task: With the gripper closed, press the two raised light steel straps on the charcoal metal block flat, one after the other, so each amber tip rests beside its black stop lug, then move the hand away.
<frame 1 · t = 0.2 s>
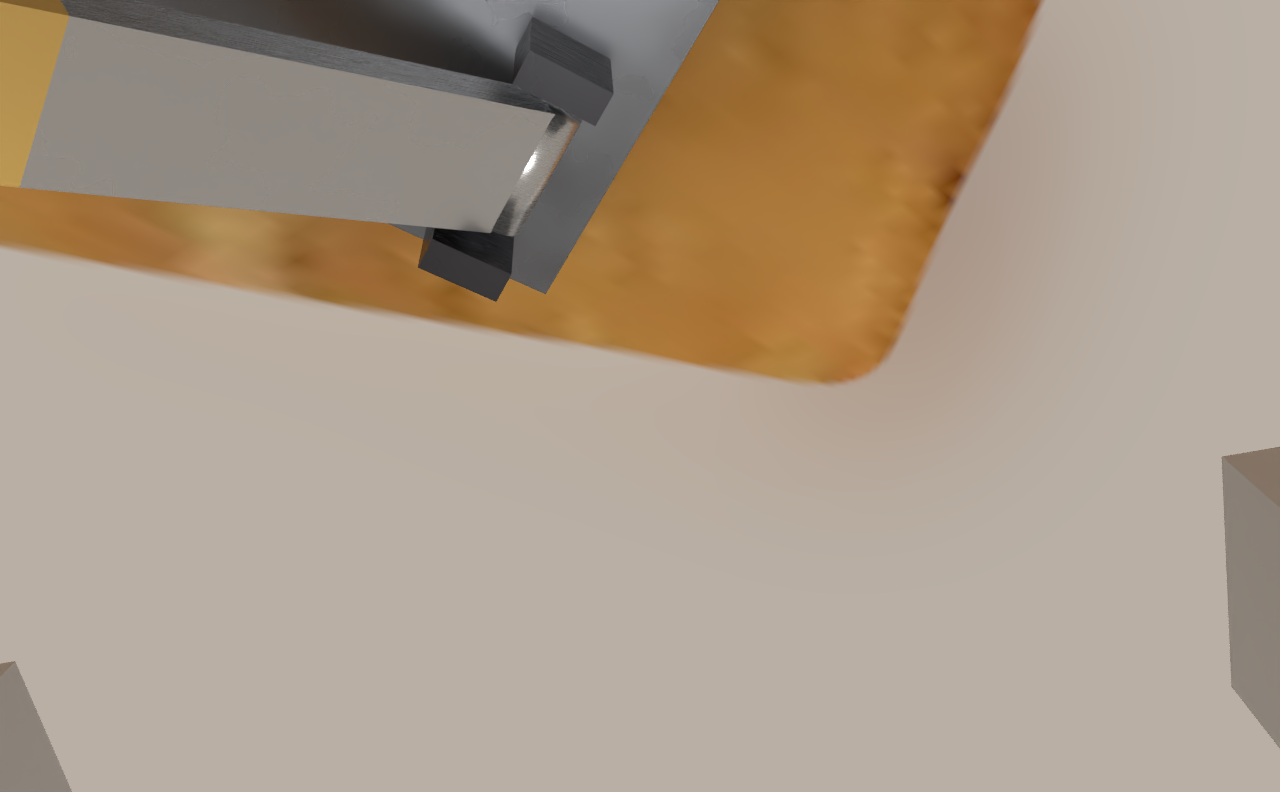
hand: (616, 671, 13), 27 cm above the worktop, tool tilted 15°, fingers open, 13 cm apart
strap 1: (269, 124, 27), point 9 cm above the worktop, hinge at -35.0°
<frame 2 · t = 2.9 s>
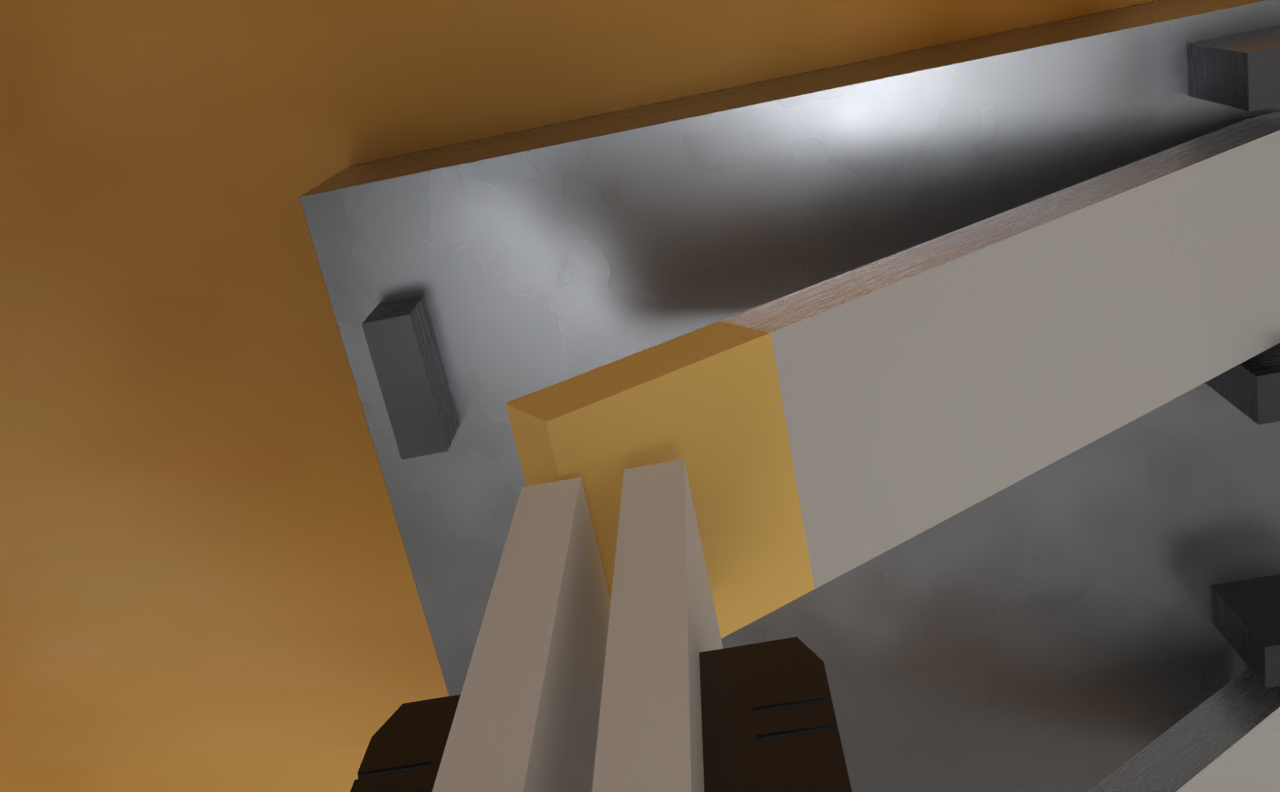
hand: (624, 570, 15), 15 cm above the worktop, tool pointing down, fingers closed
clamp block: (868, 466, 30), on the worktop
strap 2: (1014, 343, 19), point 9 cm above the worktop, hinge at -33.2°, touching gripper
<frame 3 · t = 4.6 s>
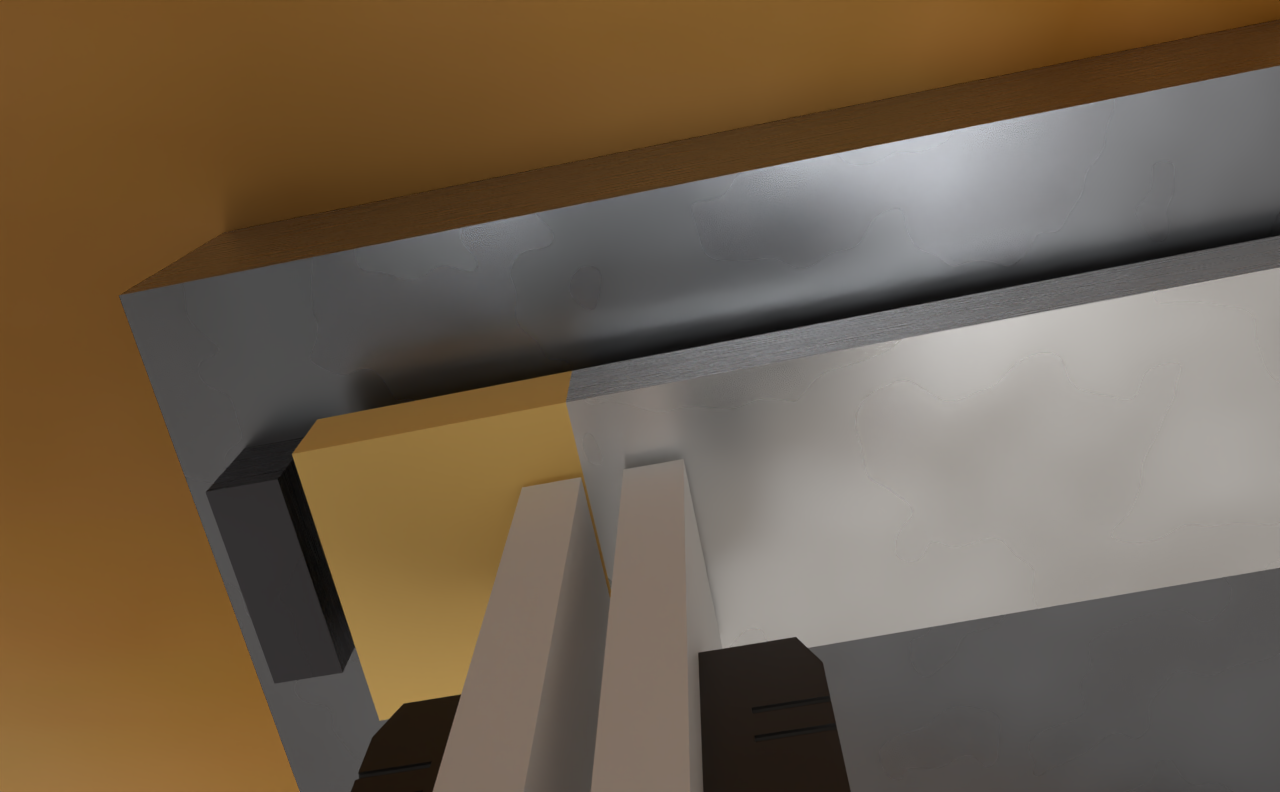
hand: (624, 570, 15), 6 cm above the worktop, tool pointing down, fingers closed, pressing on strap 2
clamp block: (944, 635, 22), on the worktop
strap 2: (991, 455, 15), point 5 cm above the worktop, hinge at -1.2°, touching gripper
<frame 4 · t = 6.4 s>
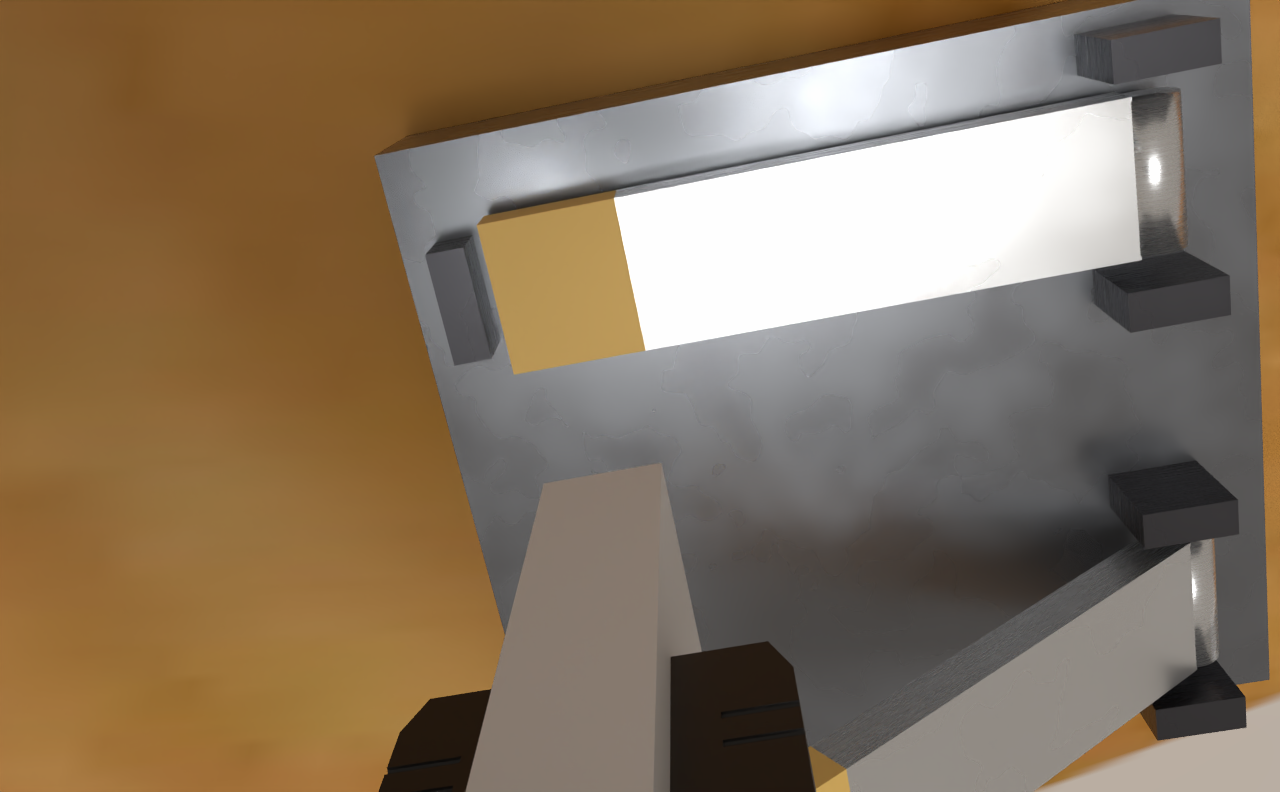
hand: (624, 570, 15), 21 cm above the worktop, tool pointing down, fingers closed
strap 1: (994, 724, 29), point 9 cm above the worktop, hinge at -35.0°
clamp block: (834, 387, 37), on the worktop
strap 2: (831, 232, 30), point 5 cm above the worktop, hinge at 0.3°
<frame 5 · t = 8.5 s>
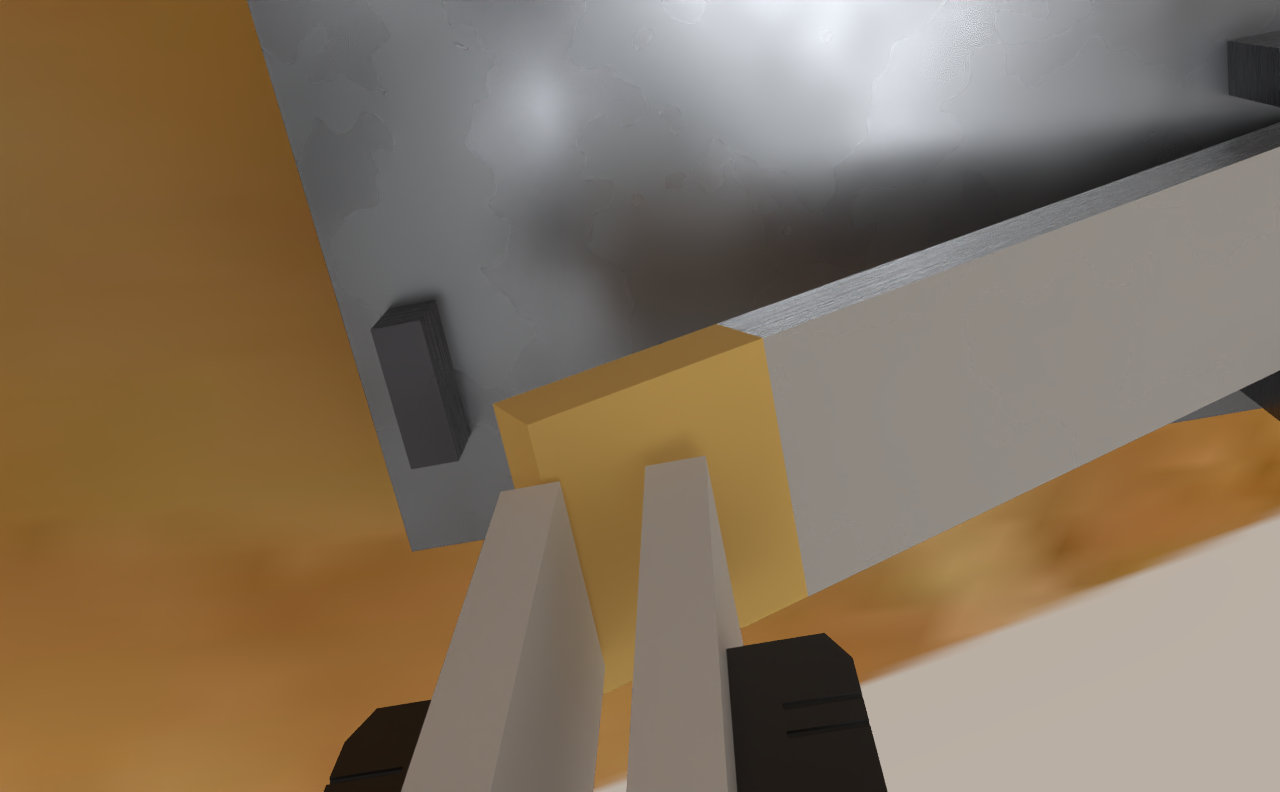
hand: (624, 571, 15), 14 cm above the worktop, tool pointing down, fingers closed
strap 1: (1027, 350, 19), point 9 cm above the worktop, hinge at -30.0°, touching gripper
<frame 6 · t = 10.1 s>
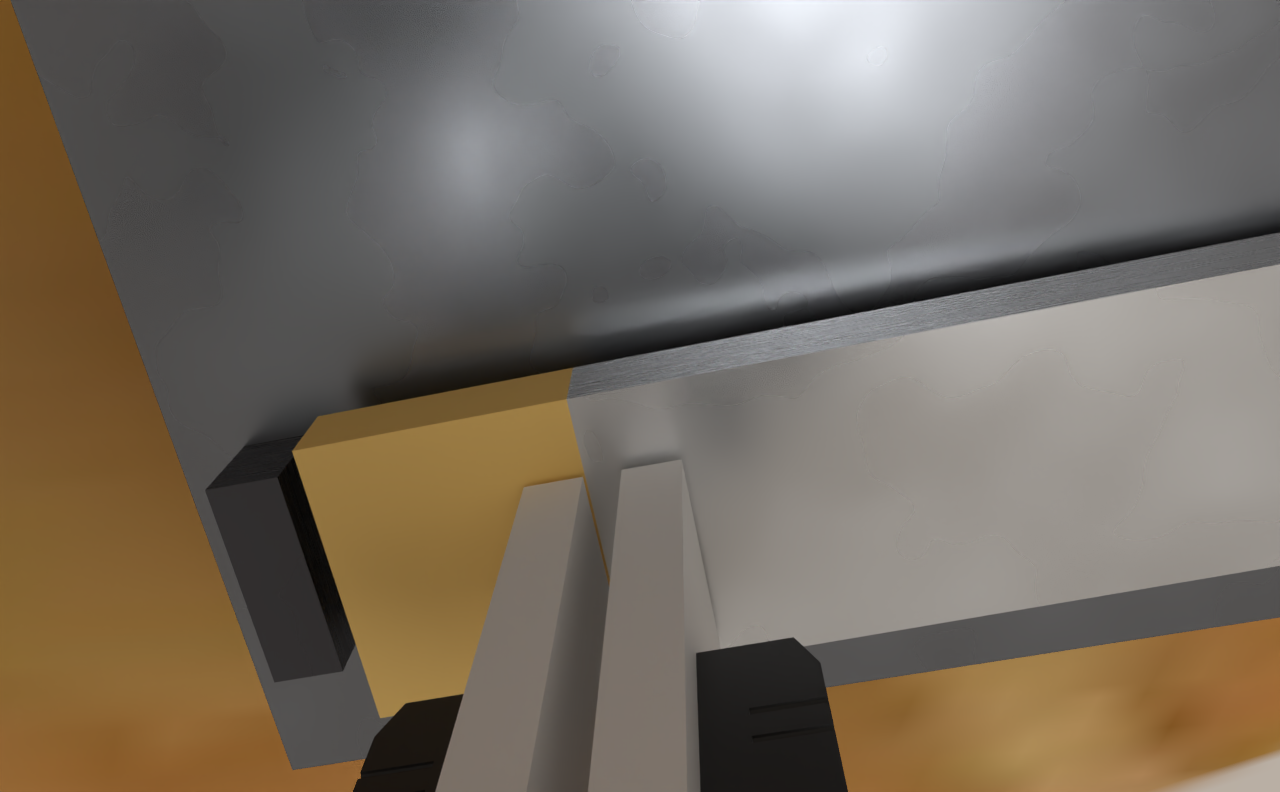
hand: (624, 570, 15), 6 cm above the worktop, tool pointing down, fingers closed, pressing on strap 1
strap 1: (993, 452, 15), point 5 cm above the worktop, hinge at -1.1°, touching gripper
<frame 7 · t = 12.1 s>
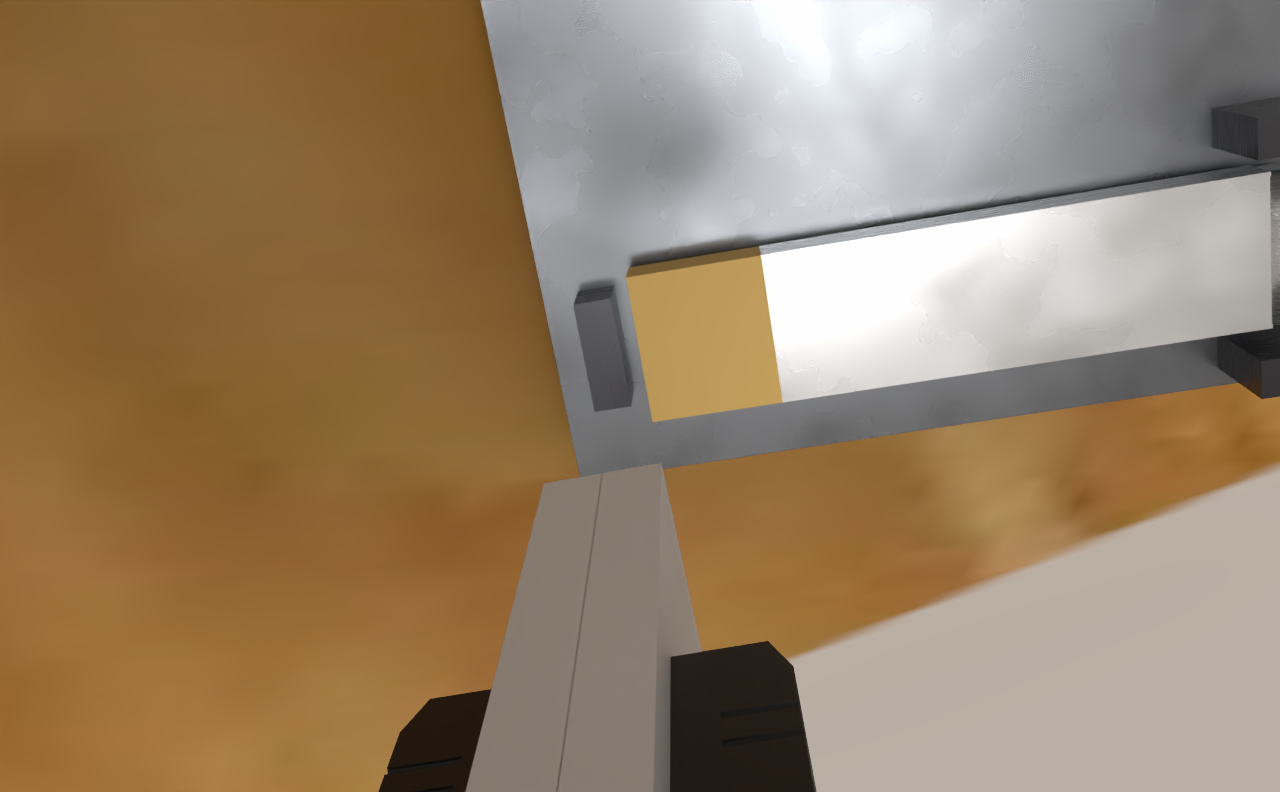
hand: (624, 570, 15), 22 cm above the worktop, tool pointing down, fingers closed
strap 1: (968, 293, 31), point 5 cm above the worktop, hinge at 0.3°
clamp block: (904, 49, 34), on the worktop
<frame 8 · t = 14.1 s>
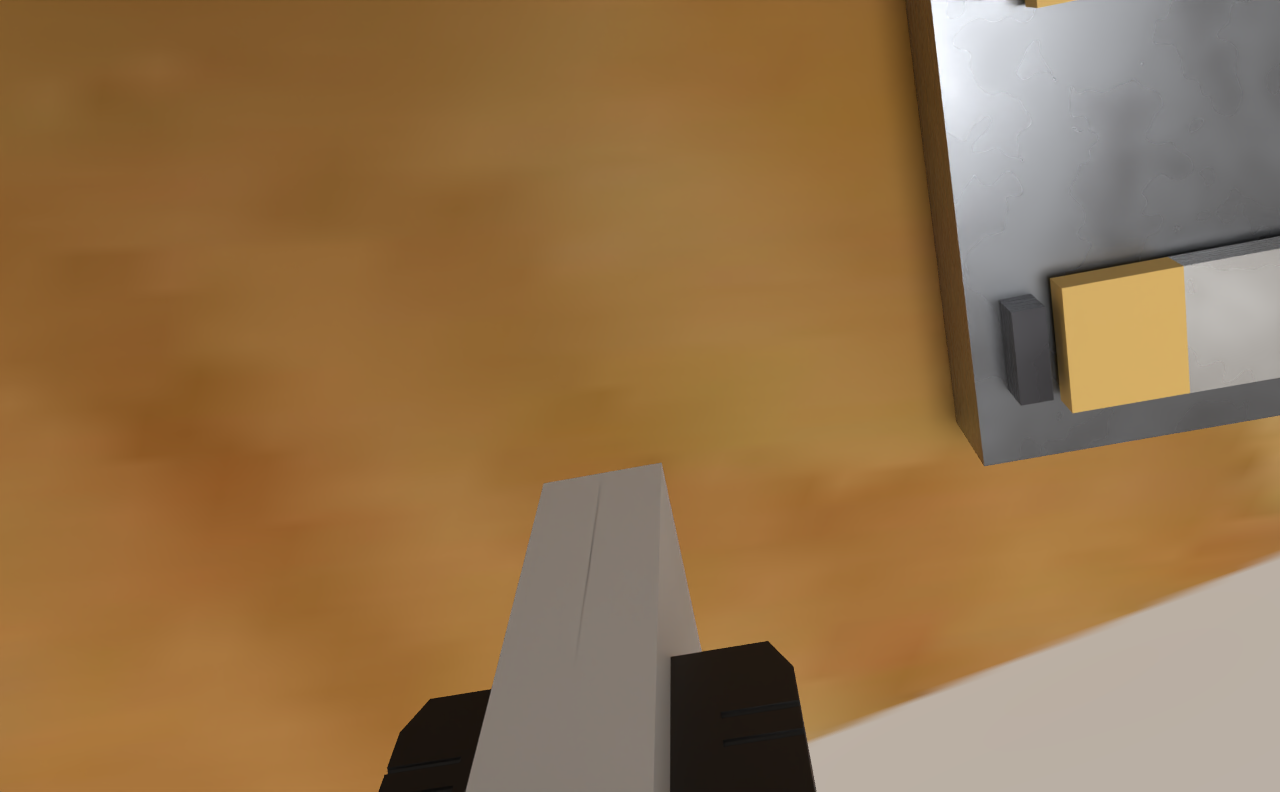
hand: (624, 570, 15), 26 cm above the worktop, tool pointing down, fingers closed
clamp block: (1265, 76, 38), on the worktop
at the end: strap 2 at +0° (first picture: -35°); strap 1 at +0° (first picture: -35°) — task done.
